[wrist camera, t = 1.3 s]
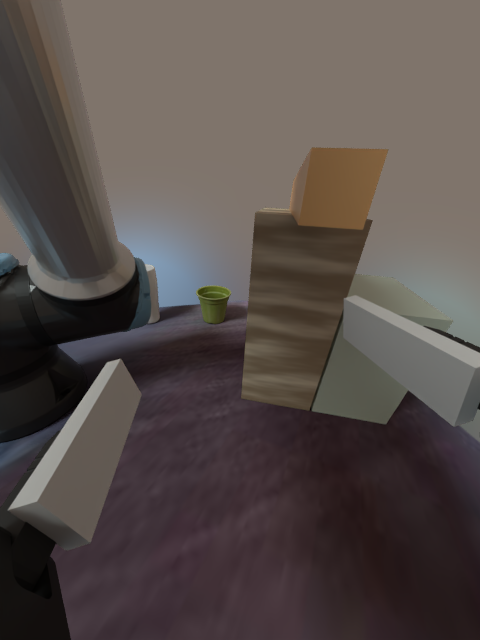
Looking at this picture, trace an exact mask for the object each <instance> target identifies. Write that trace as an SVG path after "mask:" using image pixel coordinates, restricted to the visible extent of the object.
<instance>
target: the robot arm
mask: <svg viewBox="0 0 480 640" xmlns="http://www.w3.org/2000/svg"><path fill="white" fill-rule="evenodd" d="M0 207H1V208H2V210H3V211H4V213H5V214H6V216H7V217H8V219H9V220H10V222H11V223H12V224H13V226H14V228H15V229H16V230H17V232H18V233H19V235H20V236H21V238H22V239H23V241H24V242H25V244H26V245H27V247H28V248H29V250H30V251H31V253H32V255H31V257H30V259H29V262H28V265H25V266H21V265H19V261H18V260H17V259H16V258H15V257H14V256H13V255H11V254H8V253H0V442H5V441H10V440H14V439H17V438H20V437H23V436H26V435H28V434H31V433H33V432H35V431H37V430H40V429H42V428H43V427H45V426H47V425H49V424H51V423H52V422H54V421H55V420H57V419H58V418H60V417H61V416H62V415H64V414H65V413H66V412H68V411H69V410H70V409H71V408H72V407H73V406H74V405H75V404H76V403H77V402H78V401H79V399H80V398H81V397H82V395H83V393H84V392H85V389H86V386H87V378H86V375H85V373H84V371H83V369H82V367H81V366H80V365H79V364H78V363H77V362H75V361H74V360H73V359H72V358H71V357H70V356H68V355H67V354H66V353H65V352H64V351H62V350H61V349H60V348H59V347H58V345H57V344H62V343H67V342H72V341H77V340H81V339H86V338H91V337H96V336H101V335H106V334H112V333H117V332H127V331H130V330H131V329H135V328H139V327H142V326H144V325H146V324H147V323H148V322H149V320H150V316H151V297H150V284H149V278H148V274H147V270H146V267H145V264H144V262H143V261H142V260H141V259H139V258H135V257H133V255H132V253H131V252H130V250H129V249H128V248H127V247H126V246H125V245H123V244H122V243H120V242H119V241H118V239H117V235H116V231H115V227H114V222H113V218H112V214H111V210H110V206H109V201H108V197H107V193H106V189H105V185H104V181H103V176H102V172H101V168H100V164H99V160H98V155H97V151H96V147H95V143H94V139H93V135H92V131H91V126H90V122H89V117H88V114H87V109H86V105H85V101H84V96H83V92H82V88H81V84H80V80H79V75H78V71H77V67H76V63H75V59H74V54H73V50H72V47H71V42H70V38H69V33H68V29H67V25H66V21H65V17H64V13H63V8H62V4H61V0H0ZM343 338H344V339H346V340H347V341H348V342H349V343H351V344H352V345H353V346H354V347H356V348H357V349H358V350H359V351H360V352H362V353H363V354H364V355H365V356H367V357H368V358H369V359H370V360H372V361H373V362H374V363H375V364H377V365H378V366H379V367H380V368H382V369H383V370H384V371H385V372H387V373H388V374H389V375H390V376H391V377H393V378H394V379H395V380H396V381H398V382H399V383H400V384H401V385H403V386H404V387H405V388H406V389H408V390H409V391H410V392H411V393H413V394H414V395H415V396H416V397H418V398H419V399H420V400H421V401H422V402H424V403H425V404H426V405H427V406H429V407H430V408H431V409H432V410H434V411H435V412H436V413H437V414H439V415H440V416H441V417H442V418H444V419H445V420H446V421H447V422H449V423H450V424H451V425H452V426H453V427H455V426H458V425H461V424H464V423H467V422H470V421H473V419H474V417H475V414H476V412H477V410H478V409H479V410H480V347H477V346H475V345H473V344H471V343H469V342H465V341H464V340H462V339H460V338H457V337H453V335H451V334H448V333H446V332H444V331H442V330H439V329H435V328H431V327H427V326H421V325H419V324H417V323H415V322H412V321H410V320H408V319H406V318H404V317H402V316H400V315H397V314H395V313H393V312H391V311H389V310H387V309H385V308H382V307H380V306H378V305H376V304H374V303H372V302H370V301H367V300H365V299H363V298H361V297H359V296H357V295H354V296H351V297H347V298H344V315H343ZM141 395H142V394H141V392H140V391H139V389H138V387H137V385H136V384H135V382H134V380H133V379H132V377H131V375H130V373H129V372H128V370H127V368H126V366H125V365H124V363H123V361H122V359H118V360H114V361H110V362H107V363H106V365H105V366H104V368H103V369H102V371H101V372H100V374H99V375H98V377H97V378H96V380H95V381H94V383H93V384H92V386H91V387H90V389H89V390H88V392H87V393H86V394H85V396H84V397H83V399H82V400H81V402H80V403H79V405H78V406H77V408H76V409H75V411H74V412H73V414H72V415H71V417H70V418H69V420H68V421H67V423H66V424H65V426H64V427H63V429H62V430H61V431H58V432H57V433H56V434H55V435H54V436H53V437H52V438H51V439H50V440H49V441H48V442H47V443H46V444H45V445H44V446H43V448H42V449H41V451H40V452H39V453H38V455H37V456H36V458H35V461H33V462H32V463H31V465H30V466H29V468H28V469H27V473H24V475H23V476H22V478H21V479H20V480H19V482H18V483H17V485H16V486H15V488H14V489H13V490H12V492H11V493H10V495H9V496H8V497H7V499H6V500H5V502H4V503H3V505H2V506H1V507H0V640H71V638H70V633H69V628H68V623H67V618H66V613H65V609H64V604H63V599H62V594H61V589H60V584H59V579H58V574H57V570H56V565H55V562H54V560H53V559H52V558H51V557H50V555H51V553H52V550H53V548H54V546H55V544H58V545H59V546H61V547H62V548H63V549H65V550H66V551H67V550H70V549H73V548H76V547H80V546H83V545H86V544H89V543H91V540H92V537H93V534H94V531H95V528H96V525H97V523H98V520H99V517H100V514H101V511H102V508H103V505H104V502H105V499H106V496H107V494H108V491H109V488H110V485H111V482H112V479H113V476H114V473H115V470H116V467H117V465H118V462H119V459H120V456H121V453H122V450H123V447H124V444H125V441H126V439H127V436H128V433H129V430H130V427H131V424H132V421H133V418H134V415H135V412H136V410H137V407H138V404H139V401H140V398H141Z"/></svg>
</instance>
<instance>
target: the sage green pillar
mask: <svg viewBox="0 0 480 640" xmlns="http://www.w3.org/2000/svg"><path fill="white" fill-rule="evenodd" d="M354 295H357V296H359V297H361V298H363V299H365V300H367V301H370V302H372V303H374V304H376V305H378V306H380V307H382V308H385V309H387V310H389V311H391V312H393V313H395V314H397V315H400V316H402V317H404V318H406V319H408V320H410V321H412V322H415V323H417V324H419V325H421V326H427V327H431V328H435V329H439V330H442V331H444V332H447V330H448V328H449V327H450V325H451V324H452V322H453V320H452V319H450V318H449V317H447V316H446V315H445V314H443V313H442V312H440V311H439V310H437V309H436V308H435V307H433V306H432V305H430V304H429V303H428V302H426V301H425V300H423V299H422V298H421V297H419V296H418V295H417V294H415V293H414V292H412V291H411V290H410V289H408V288H407V287H405V286H404V285H403V284H401V283H400V282H398V281H397V280H395V279H394V278H392V277H381V276H371V275H360V274H355V275H354V278H353V281H352V284H351V287H350V290H349V293H348V296H347V297H351V296H354ZM343 315H344V308H343V311H342V314H341V317H340V320H339V323H338V326H337V329H336V332H335V335H334V338H333V341H332V344H331V347H330V350H329V353H328V356H327V359H326V362H325V365H324V368H323V371H322V374H321V377H320V380H319V383H318V386H317V389H316V392H315V395H314V398H313V401H312V404H311V409H312V411H314V412H320V413H325V414H331V415H336V416H342V417H348V418H353V419H359V420H364V421H370V422H375V423H381V424H387V422H388V420H389V419H390V417H391V416H392V414H393V413H394V411H395V410H396V408H397V407H398V405H399V404H400V402H401V401H402V399H403V397H404V396H405V394H406V393H407V391H408V389H406V388H405V387H404V386H403V385H401V384H400V383H399V382H398V381H396V380H395V379H394V378H393V377H391V376H390V375H389V374H388V373H387V372H385V371H384V370H383V369H382V368H380V367H379V366H378V365H377V364H375V363H374V362H373V361H372V360H370V359H369V358H368V357H367V356H365V355H364V354H363V353H362V352H360V351H359V350H358V349H357V348H356V347H354V346H353V345H352V344H351V343H349V342H348V341H347V340H346V339H344V338H343Z"/></svg>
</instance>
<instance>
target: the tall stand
mask: <svg viewBox="0 0 480 640" xmlns="http://www.w3.org/2000/svg"><path fill="white" fill-rule="evenodd" d="M371 224H372V220H369V219H366V221H365V225H364V228H363V230H358V229H344V228H330V227H316V226H302V225H298V224H297V222H296V220H295V219H294V217H293V215H292V213H291V212H290V210H289V209H280V208H264V209H262V210H260V211H258V212H256V213H255V222H254V235H253V248H252V249H253V250H252V262H251V275H250V288H249V302H248V315H247V328H246V342H245V355H244V368H243V382H242V395H241V399H246V400H252V401H258V402H263V403H269V404H274V405H280V406H286V407H291V408H297V409H302V410H308V411H309V410H310V407H311V404H312V401H313V398H314V395H315V392H316V389H317V386H318V383H319V380H320V377H321V374H322V371H323V368H324V365H325V362H326V359H327V356H328V353H329V350H330V347H331V344H332V341H333V338H334V335H335V332H336V329H337V326H338V323H339V320H340V317H341V314H342V311H343V308H344V298H347V296H348V293H349V290H350V287H351V284H352V281H353V278H354V275H355V272H356V269H357V266H358V263H359V260H360V257H361V254H362V251H363V248H364V245H365V241H366V239H367V236H368V232H369V230H370V227H371Z"/></svg>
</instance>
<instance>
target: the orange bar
mask: <svg viewBox="0 0 480 640" xmlns="http://www.w3.org/2000/svg"><path fill="white" fill-rule="evenodd" d="M387 152H388V149H350V148H311V150H310V152H309V153H308V155H307V157H306V159H305V161H304V162H303V164H302V166H301V168H300V170H299V171H298V173H297V175H296V177H295V179H294V181H293V187H292V194H291V201H290V208H289V210H290V212H291V213H292V215H293V217H294V219H295V220H296V222H297V224H298V225H302V226H316V227H330V228H344V229H358V230H363V228H364V225H365V221H366V218H367V215H368V212H369V209H370V206H371V203H372V199H373V196H374V193H375V190H376V187H377V184H378V181H379V177H380V174H381V171H382V168H383V165H384V162H385V158H386V155H387Z"/></svg>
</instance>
